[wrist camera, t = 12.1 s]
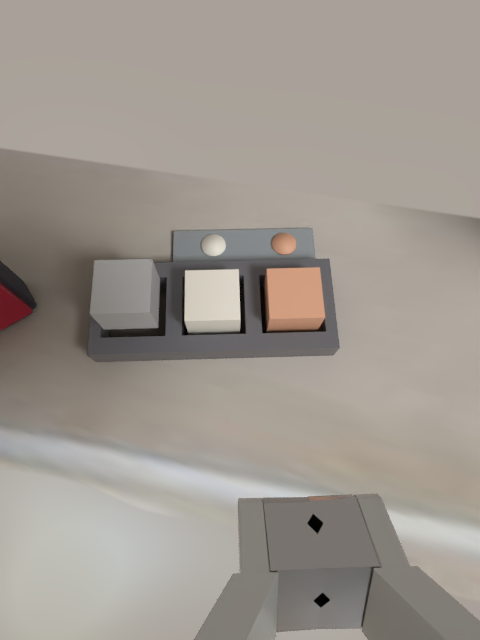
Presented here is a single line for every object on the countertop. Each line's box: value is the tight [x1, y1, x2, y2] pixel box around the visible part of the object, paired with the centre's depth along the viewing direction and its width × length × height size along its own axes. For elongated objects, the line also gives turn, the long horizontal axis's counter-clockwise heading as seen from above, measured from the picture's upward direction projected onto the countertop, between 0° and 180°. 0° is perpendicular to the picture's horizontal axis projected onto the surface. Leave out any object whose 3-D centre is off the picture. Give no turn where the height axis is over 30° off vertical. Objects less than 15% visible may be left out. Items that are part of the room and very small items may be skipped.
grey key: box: [90, 259, 160, 329], centre depth 35 cm, size 5×5×4 cm
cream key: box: [184, 269, 241, 335], centre depth 37 cm, size 5×5×4 cm
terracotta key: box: [264, 267, 325, 333], centre depth 37 cm, size 5×5×4 cm
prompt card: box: [173, 228, 315, 262], centre depth 42 cm, size 14×4×1 cm, turn 92°
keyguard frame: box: [87, 259, 340, 362], centre depth 39 cm, size 22×9×2 cm, turn 92°
